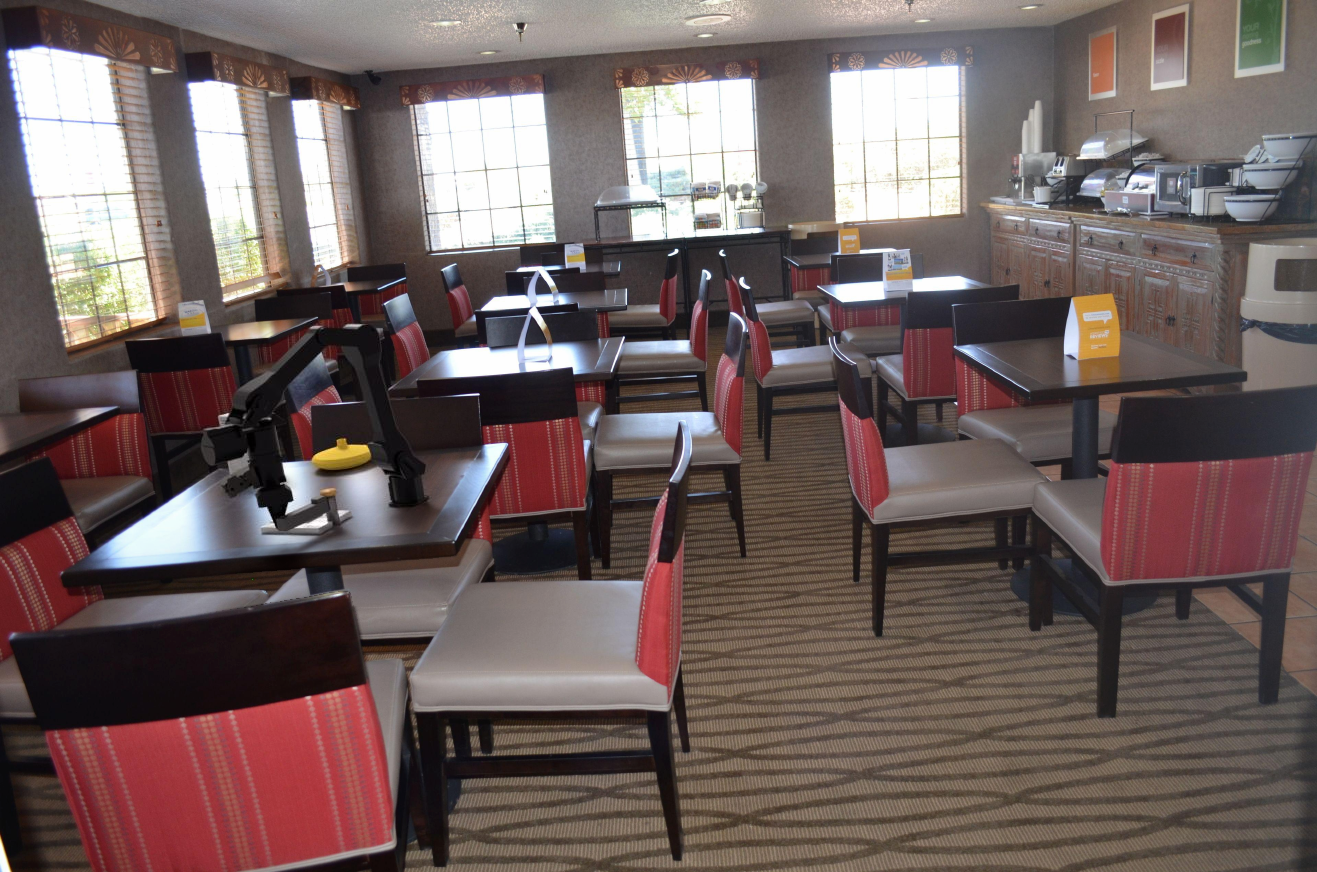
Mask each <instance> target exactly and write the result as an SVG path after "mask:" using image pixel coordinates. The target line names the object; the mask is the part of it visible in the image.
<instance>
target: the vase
mask: <svg viewBox="0 0 1317 872" xmlns="http://www.w3.org/2000/svg"><path fill="white" fill-rule="evenodd" d="M336 443H337V444H336V446H335V447H331V448H328V449H325V450H323V451H320V452H318V453H316V454H315V455H313V457H312V458H311V463H312V464H313V466H314V467H316V468H319V469H323V470H325V471H326V470H327V471H329V470H330V471H338V470H341V471H342V470H346V469H351V468H355V467H358V466H361V465H363V464H366V463H367V462H369V461H371V453H370V451H369V449H368V447H367V444H348V443H347V438H339V439H337V440H336Z"/></svg>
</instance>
